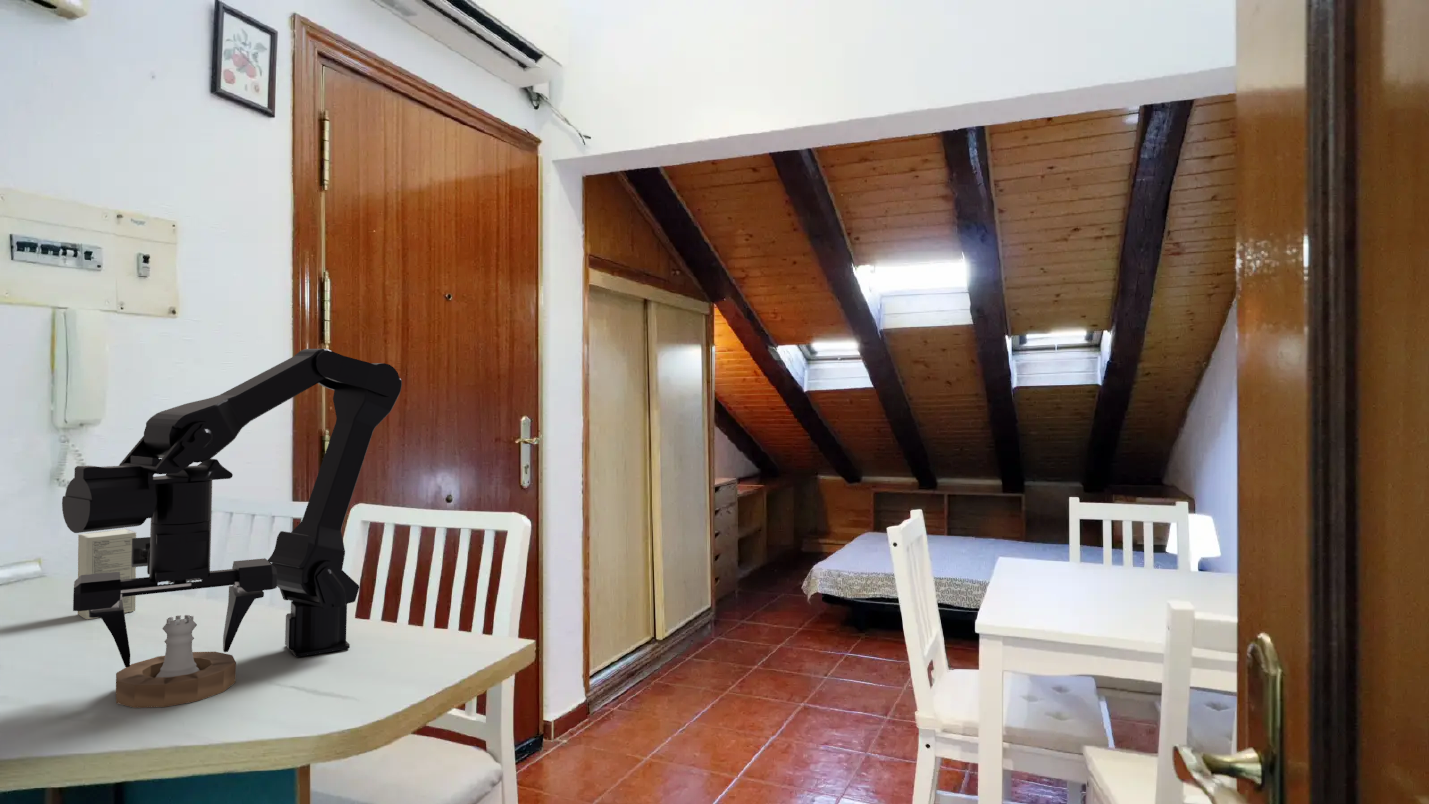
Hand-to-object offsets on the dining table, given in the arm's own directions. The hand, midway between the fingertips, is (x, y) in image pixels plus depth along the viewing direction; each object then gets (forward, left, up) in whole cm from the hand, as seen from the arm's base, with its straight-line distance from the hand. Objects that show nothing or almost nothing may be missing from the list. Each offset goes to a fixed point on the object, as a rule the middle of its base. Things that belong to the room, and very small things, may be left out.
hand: (178, 658), depth 89 cm
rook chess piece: (0, 0, -4) cm, 4 cm away
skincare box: (+6, -41, -4) cm, 42 cm away
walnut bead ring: (0, 0, -3) cm, 3 cm away
